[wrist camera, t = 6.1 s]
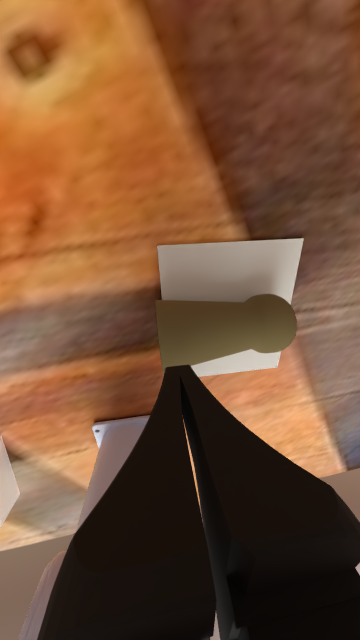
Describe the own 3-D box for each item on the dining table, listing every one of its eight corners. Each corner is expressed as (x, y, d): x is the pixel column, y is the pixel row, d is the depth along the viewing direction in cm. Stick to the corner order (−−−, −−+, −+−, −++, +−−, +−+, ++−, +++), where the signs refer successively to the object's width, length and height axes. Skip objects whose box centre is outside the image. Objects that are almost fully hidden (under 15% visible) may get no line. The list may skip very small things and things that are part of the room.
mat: (276, 365, 21) (277, 367, 21) (168, 378, 20) (169, 380, 20) (301, 238, 16) (303, 238, 16) (157, 245, 15) (157, 245, 15)
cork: (154, 288, 16) (271, 277, 17) (161, 342, 19) (259, 330, 20) (156, 325, 11) (324, 306, 12) (165, 390, 14) (296, 370, 15)
